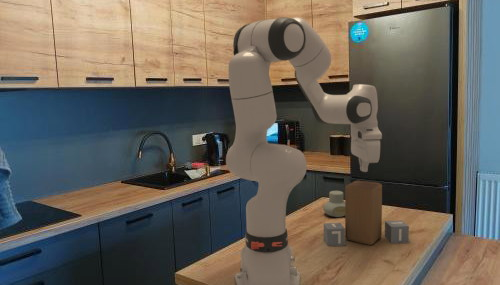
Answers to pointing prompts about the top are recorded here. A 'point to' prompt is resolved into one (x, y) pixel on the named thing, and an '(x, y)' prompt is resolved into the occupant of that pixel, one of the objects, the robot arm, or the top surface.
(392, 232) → the cube one
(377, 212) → the wooden block
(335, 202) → the air freshener
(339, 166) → the top surface
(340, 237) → the cube seven
